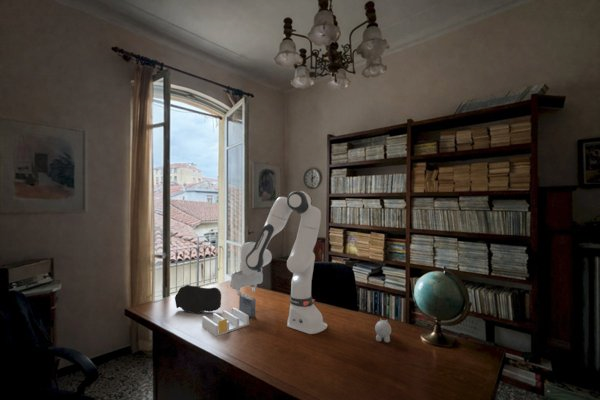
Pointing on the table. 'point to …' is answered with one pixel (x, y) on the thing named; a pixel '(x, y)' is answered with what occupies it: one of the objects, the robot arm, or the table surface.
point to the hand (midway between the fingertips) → (246, 293)
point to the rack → (225, 322)
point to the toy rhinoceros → (383, 330)
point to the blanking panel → (247, 305)
